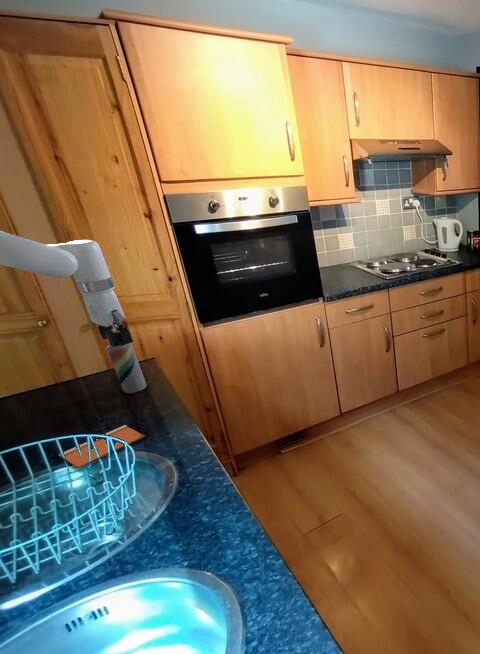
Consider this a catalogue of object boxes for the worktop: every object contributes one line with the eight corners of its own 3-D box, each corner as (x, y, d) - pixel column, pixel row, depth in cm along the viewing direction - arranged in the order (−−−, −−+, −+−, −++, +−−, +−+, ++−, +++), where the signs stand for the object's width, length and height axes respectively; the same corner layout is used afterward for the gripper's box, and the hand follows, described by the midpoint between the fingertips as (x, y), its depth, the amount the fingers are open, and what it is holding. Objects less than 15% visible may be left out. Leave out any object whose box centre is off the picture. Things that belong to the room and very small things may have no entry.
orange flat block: (78, 468, 106) (77, 466, 106) (58, 455, 110) (57, 453, 110) (145, 436, 117) (144, 434, 117) (124, 426, 122) (124, 424, 121)
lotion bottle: (128, 386, 141) (105, 327, 133) (149, 383, 143) (128, 325, 135) (120, 395, 136) (96, 334, 128) (143, 391, 138) (120, 331, 130)
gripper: (64, 284, 127) (88, 339, 134) (95, 293, 120) (118, 351, 127) (96, 277, 133) (117, 330, 140) (127, 285, 126) (148, 341, 133)
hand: (118, 340), depth 133 cm, fingers open, 9 cm apart
